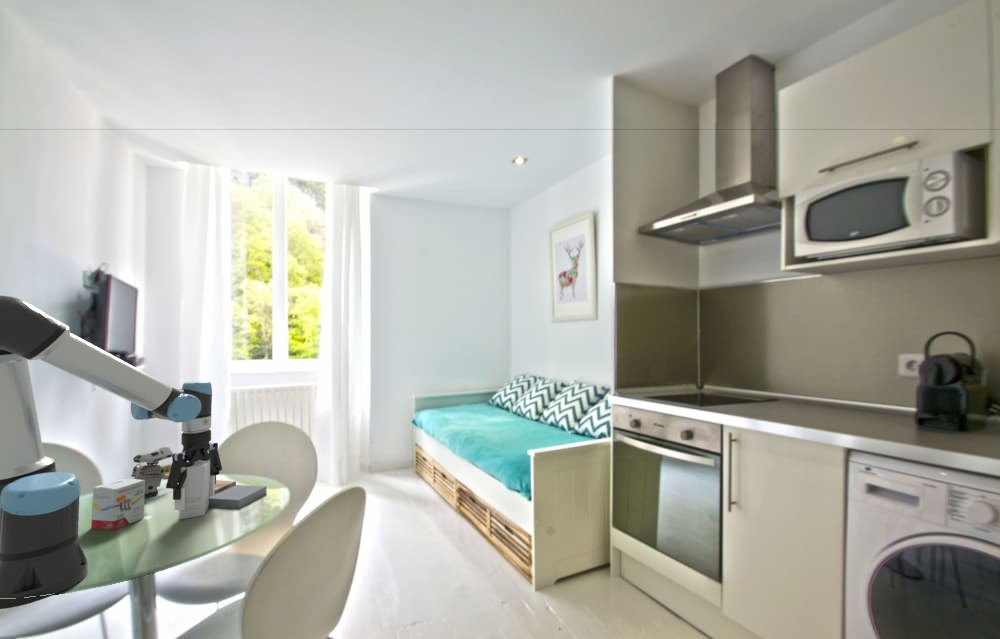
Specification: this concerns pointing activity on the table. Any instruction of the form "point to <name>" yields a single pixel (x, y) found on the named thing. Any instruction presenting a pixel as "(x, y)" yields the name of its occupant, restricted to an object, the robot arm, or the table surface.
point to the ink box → (118, 503)
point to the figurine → (151, 469)
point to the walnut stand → (223, 485)
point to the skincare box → (196, 489)
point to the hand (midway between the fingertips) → (195, 502)
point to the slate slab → (237, 496)
